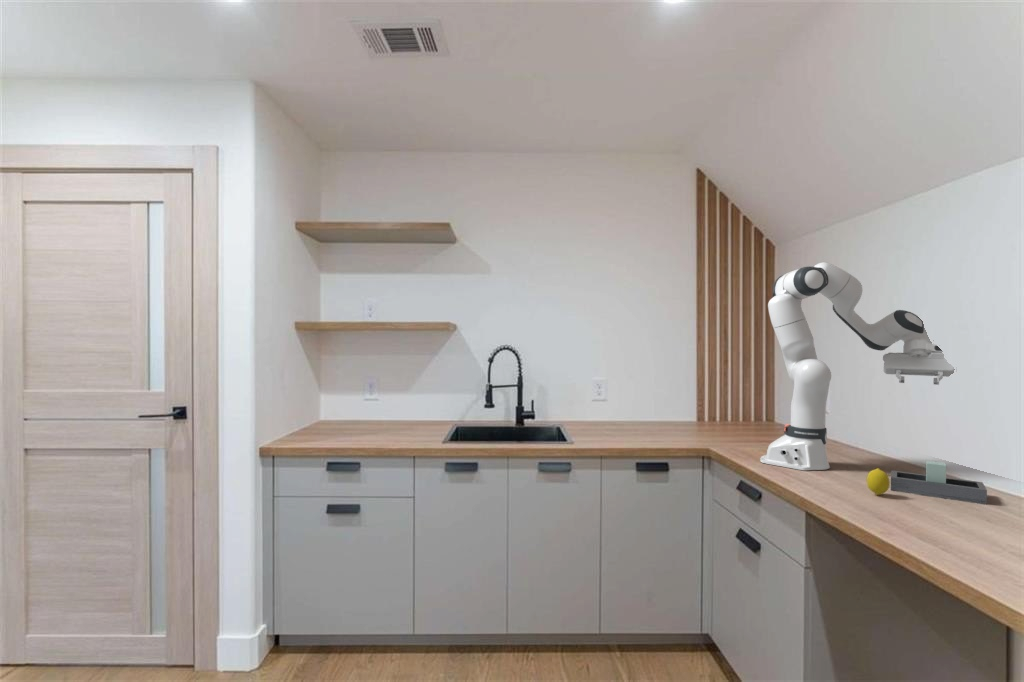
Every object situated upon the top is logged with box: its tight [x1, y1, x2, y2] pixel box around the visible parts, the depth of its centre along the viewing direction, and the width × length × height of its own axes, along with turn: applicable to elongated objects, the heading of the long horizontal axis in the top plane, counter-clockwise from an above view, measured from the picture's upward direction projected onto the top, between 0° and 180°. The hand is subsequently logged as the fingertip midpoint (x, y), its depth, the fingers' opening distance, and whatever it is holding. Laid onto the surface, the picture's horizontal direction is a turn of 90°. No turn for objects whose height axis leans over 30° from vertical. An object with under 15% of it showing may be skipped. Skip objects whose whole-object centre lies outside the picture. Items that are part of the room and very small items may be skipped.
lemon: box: [866, 467, 890, 496], centre depth 157 cm, size 6×6×8 cm
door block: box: [925, 460, 947, 484], centre depth 160 cm, size 4×4×8 cm
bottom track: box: [890, 470, 988, 505], centre depth 160 cm, size 22×10×4 cm, turn 54°
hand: (918, 382), depth 182 cm, fingers open, 8 cm apart
